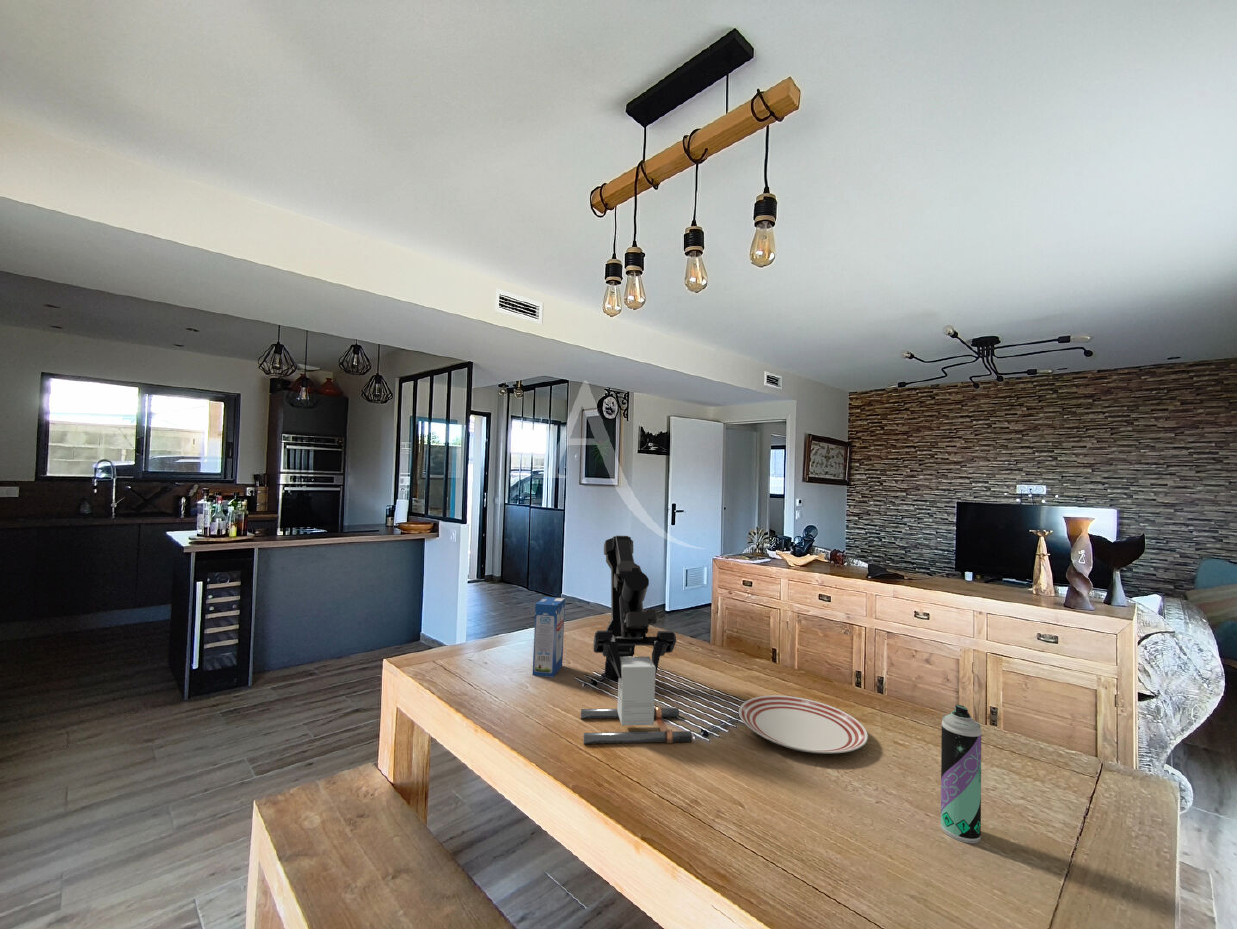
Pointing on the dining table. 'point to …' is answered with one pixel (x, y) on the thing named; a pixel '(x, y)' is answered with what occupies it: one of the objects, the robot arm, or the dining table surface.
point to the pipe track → (636, 737)
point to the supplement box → (636, 691)
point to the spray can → (961, 776)
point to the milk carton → (548, 636)
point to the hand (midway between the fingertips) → (637, 677)
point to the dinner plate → (803, 724)
